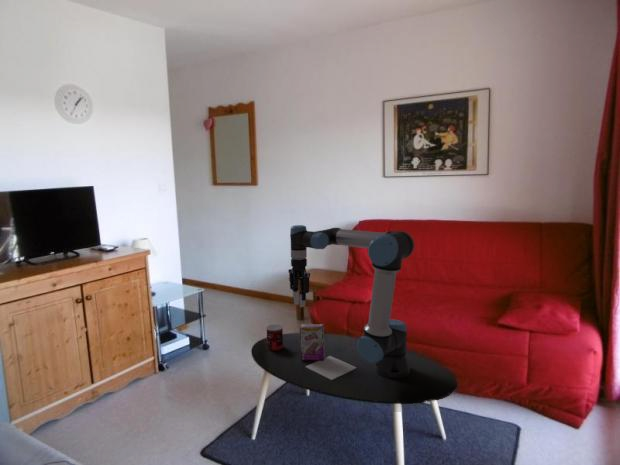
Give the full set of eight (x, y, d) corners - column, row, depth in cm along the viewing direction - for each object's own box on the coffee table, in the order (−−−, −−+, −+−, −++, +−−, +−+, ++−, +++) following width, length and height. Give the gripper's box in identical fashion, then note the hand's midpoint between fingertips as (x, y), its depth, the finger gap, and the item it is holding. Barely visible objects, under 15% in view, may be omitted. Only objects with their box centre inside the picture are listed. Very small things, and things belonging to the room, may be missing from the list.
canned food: (267, 345, 225) (266, 324, 223) (282, 344, 226) (282, 324, 224) (267, 351, 217) (266, 330, 216) (283, 350, 218) (282, 329, 217)
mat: (356, 368, 198) (356, 367, 198) (331, 380, 188) (331, 379, 188) (330, 356, 211) (330, 355, 211) (305, 367, 200) (305, 366, 200)
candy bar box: (300, 361, 206) (299, 327, 204) (302, 356, 211) (300, 323, 209) (324, 361, 205) (323, 327, 203) (325, 356, 210) (323, 323, 208)
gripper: (316, 259, 203) (317, 307, 207) (293, 254, 216) (294, 299, 219) (304, 262, 198) (305, 311, 202) (281, 256, 211) (282, 303, 214)
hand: (299, 305), depth 211 cm, fingers open, 4 cm apart
